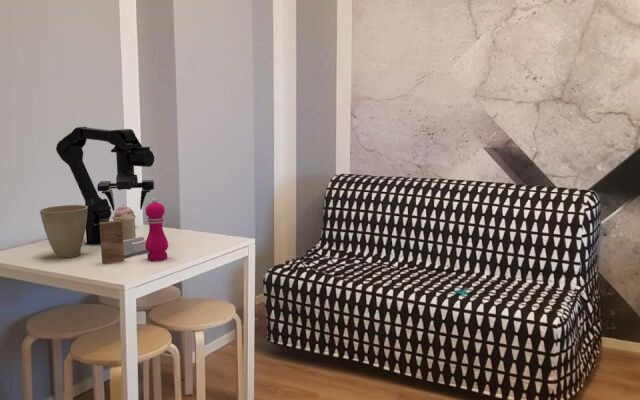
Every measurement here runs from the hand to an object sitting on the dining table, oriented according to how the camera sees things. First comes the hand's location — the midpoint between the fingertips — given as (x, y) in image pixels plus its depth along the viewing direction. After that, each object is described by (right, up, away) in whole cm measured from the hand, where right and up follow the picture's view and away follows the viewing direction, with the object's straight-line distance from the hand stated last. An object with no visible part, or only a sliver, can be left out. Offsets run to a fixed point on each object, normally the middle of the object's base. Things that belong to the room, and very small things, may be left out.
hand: (127, 210), depth 239 cm
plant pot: (-17, -15, -11) cm, 25 cm away
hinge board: (+6, -14, -7) cm, 17 cm away
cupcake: (-11, -8, +34) cm, 37 cm away
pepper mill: (+15, -16, -17) cm, 27 cm away
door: (+1, -16, -20) cm, 26 cm away
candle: (-3, -12, +10) cm, 16 cm away
